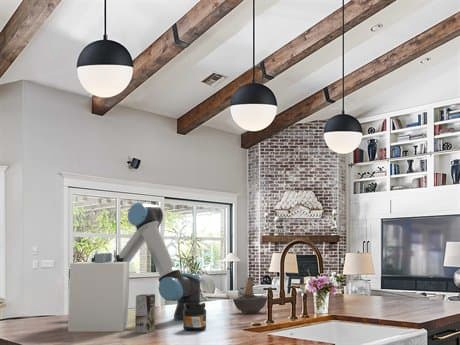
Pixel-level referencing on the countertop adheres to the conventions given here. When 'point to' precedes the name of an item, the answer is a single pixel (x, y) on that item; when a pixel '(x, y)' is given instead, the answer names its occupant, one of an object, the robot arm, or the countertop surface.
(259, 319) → the countertop surface
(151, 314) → the coffee box
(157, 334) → the countertop surface
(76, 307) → the shelf unit
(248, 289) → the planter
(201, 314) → the supplement container
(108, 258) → the slate carton
